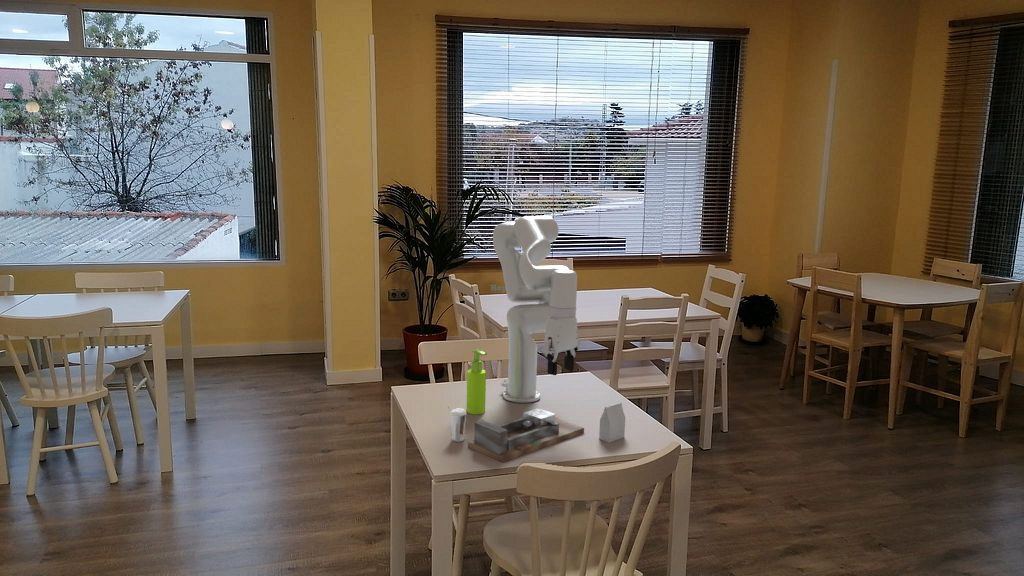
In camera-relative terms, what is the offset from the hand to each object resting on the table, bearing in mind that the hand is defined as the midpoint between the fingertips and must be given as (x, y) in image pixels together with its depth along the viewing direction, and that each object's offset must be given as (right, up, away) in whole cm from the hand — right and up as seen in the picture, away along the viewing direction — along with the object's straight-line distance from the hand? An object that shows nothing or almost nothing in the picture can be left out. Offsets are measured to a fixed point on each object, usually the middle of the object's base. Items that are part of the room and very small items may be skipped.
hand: (560, 371), depth 217 cm
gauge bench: (-10, -19, -6) cm, 22 cm away
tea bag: (+15, -19, -3) cm, 24 cm away
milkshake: (-30, -19, -7) cm, 36 cm away
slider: (-6, -17, -5) cm, 19 cm away
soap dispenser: (-25, -15, +16) cm, 33 cm away
